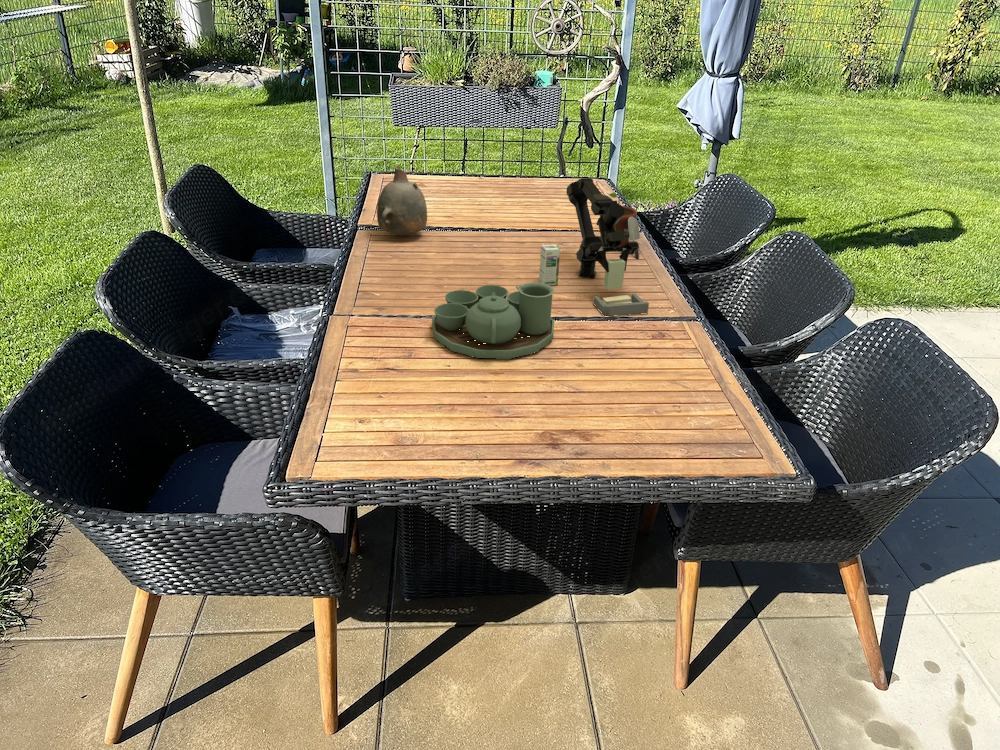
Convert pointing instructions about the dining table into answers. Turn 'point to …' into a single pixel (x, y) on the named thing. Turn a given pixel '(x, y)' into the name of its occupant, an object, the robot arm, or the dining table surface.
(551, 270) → the syrup box
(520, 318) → the tea set
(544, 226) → the dining table surface
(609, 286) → the green block
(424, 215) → the jug
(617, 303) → the frame
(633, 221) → the potted plant
